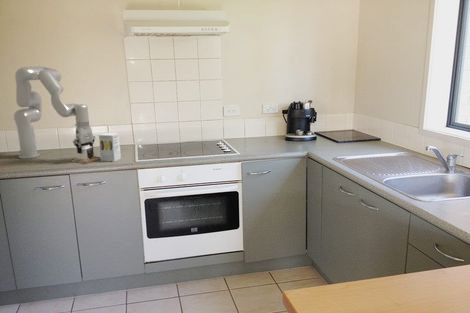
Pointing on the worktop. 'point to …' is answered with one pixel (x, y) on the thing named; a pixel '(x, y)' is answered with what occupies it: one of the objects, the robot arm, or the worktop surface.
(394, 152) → the worktop surface
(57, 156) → the worktop surface
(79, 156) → the medicine bottle
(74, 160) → the oak trivet
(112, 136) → the supplement box
